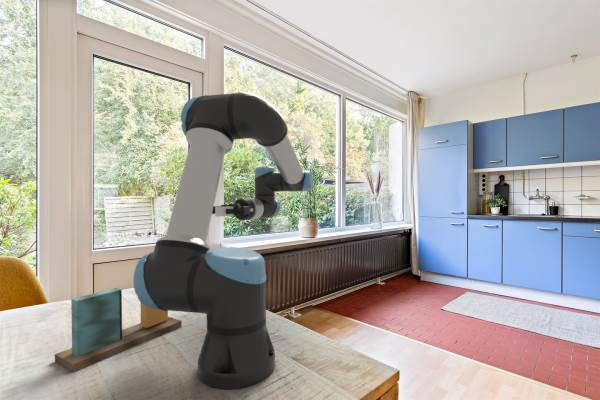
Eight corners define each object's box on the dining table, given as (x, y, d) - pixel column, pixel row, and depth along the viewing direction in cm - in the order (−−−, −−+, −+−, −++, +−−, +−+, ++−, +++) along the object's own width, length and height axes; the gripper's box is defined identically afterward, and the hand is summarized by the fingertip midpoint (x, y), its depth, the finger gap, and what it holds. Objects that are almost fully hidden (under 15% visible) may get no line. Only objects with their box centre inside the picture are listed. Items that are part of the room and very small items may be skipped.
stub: (162, 318, 82) (161, 276, 82) (168, 319, 81) (167, 278, 81) (140, 326, 77) (140, 282, 77) (146, 328, 76) (145, 283, 76)
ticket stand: (162, 320, 86) (162, 274, 86) (181, 326, 81) (181, 277, 81) (54, 361, 64) (54, 299, 64) (72, 372, 60) (71, 306, 60)
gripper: (276, 220, 102) (231, 225, 84) (222, 218, 115) (172, 223, 97) (276, 198, 102) (230, 198, 84) (222, 198, 115) (172, 199, 97)
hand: (199, 211), depth 91 cm, fingers open, 13 cm apart
